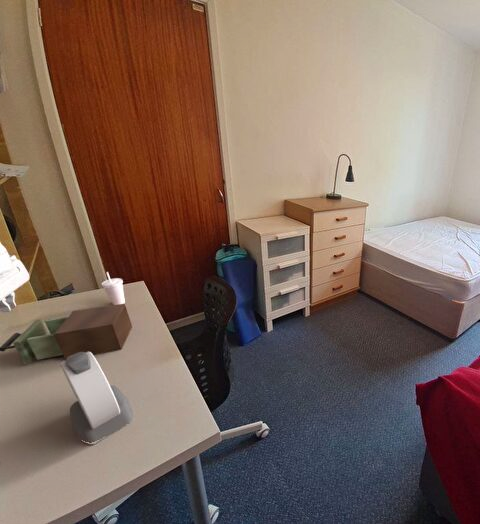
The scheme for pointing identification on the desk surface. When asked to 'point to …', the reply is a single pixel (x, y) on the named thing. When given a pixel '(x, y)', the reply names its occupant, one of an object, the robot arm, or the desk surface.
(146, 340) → the desk surface
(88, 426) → the headphone stand
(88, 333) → the cabinet
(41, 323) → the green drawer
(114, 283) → the smoothie
